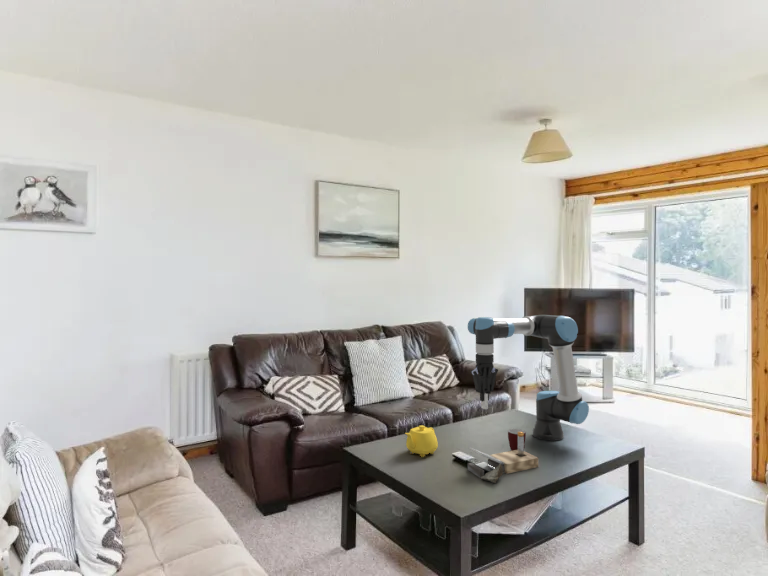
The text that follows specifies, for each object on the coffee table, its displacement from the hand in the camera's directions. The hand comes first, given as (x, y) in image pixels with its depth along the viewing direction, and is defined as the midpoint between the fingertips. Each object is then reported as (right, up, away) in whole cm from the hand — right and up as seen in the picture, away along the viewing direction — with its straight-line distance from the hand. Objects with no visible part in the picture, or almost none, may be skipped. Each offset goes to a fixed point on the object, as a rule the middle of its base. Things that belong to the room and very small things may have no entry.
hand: (484, 408), depth 214 cm
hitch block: (+8, -26, +2) cm, 28 cm away
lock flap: (+5, -22, +1) cm, 23 cm away
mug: (+20, -26, +19) cm, 38 cm away
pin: (+17, -26, +7) cm, 32 cm away
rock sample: (+1, -27, -11) cm, 29 cm away
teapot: (-26, -26, +20) cm, 42 cm away
